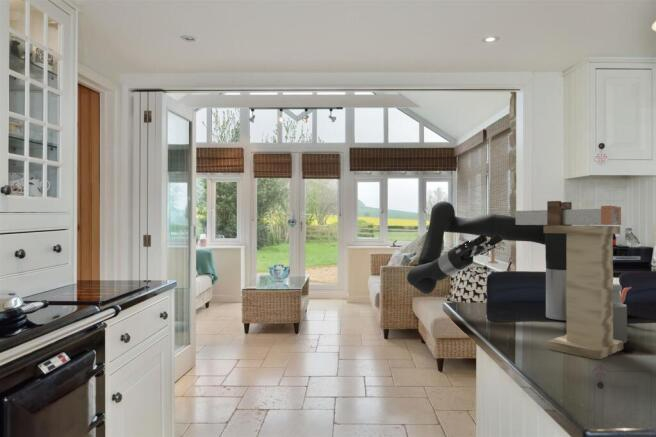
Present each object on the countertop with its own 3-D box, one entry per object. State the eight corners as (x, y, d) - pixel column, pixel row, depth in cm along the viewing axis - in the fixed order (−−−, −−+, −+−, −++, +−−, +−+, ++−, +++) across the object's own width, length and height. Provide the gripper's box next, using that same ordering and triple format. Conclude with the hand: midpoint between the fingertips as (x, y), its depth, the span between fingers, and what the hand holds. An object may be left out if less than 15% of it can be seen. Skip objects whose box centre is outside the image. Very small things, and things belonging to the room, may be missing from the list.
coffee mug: (632, 344, 118) (632, 307, 118) (591, 341, 121) (591, 305, 121) (615, 333, 131) (615, 300, 131) (578, 330, 134) (578, 298, 134)
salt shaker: (628, 324, 143) (627, 285, 143) (608, 323, 144) (608, 284, 145) (619, 321, 149) (619, 283, 149) (601, 320, 150) (601, 282, 150)
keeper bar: (525, 224, 130) (525, 209, 130) (621, 225, 111) (621, 206, 111) (512, 224, 126) (512, 208, 126) (610, 224, 106) (610, 205, 106)
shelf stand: (566, 338, 124) (566, 203, 125) (623, 349, 113) (622, 201, 114) (539, 346, 114) (540, 200, 115) (598, 359, 103) (598, 198, 104)
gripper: (437, 250, 143) (474, 226, 132) (463, 249, 152) (500, 226, 141) (446, 271, 140) (485, 248, 129) (472, 269, 148) (511, 247, 137)
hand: (493, 237), depth 135 cm, fingers open, 8 cm apart
